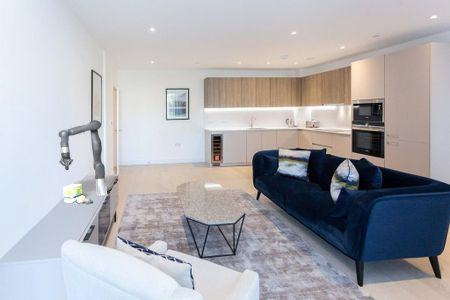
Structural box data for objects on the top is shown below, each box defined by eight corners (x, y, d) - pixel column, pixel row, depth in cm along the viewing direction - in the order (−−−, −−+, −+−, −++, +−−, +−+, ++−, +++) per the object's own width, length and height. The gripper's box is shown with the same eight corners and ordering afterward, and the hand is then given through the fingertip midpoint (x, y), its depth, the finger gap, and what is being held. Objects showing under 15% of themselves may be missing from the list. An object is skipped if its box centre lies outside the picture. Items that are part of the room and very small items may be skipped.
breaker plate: (86, 200, 342) (86, 197, 342) (92, 201, 334) (91, 199, 334) (72, 203, 332) (72, 201, 332) (77, 205, 324) (77, 202, 324)
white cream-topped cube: (80, 201, 330) (80, 198, 329) (82, 201, 328) (81, 198, 328) (77, 201, 328) (77, 198, 327) (78, 202, 326) (78, 199, 325)
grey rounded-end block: (89, 202, 332) (89, 197, 331) (92, 203, 328) (91, 198, 328) (84, 203, 328) (84, 198, 328) (86, 204, 325) (86, 199, 324)
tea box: (73, 202, 335) (72, 187, 333) (64, 202, 337) (62, 187, 336) (83, 198, 350) (81, 183, 348) (74, 198, 352) (72, 183, 350)
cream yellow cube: (83, 198, 339) (83, 195, 338) (84, 199, 337) (84, 196, 337) (80, 199, 337) (80, 196, 336) (81, 199, 335) (81, 196, 334)
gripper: (70, 150, 343) (72, 168, 345) (56, 152, 333) (58, 170, 335) (74, 151, 338) (75, 169, 340) (59, 152, 328) (61, 171, 330)
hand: (67, 170), depth 337 cm, fingers closed
